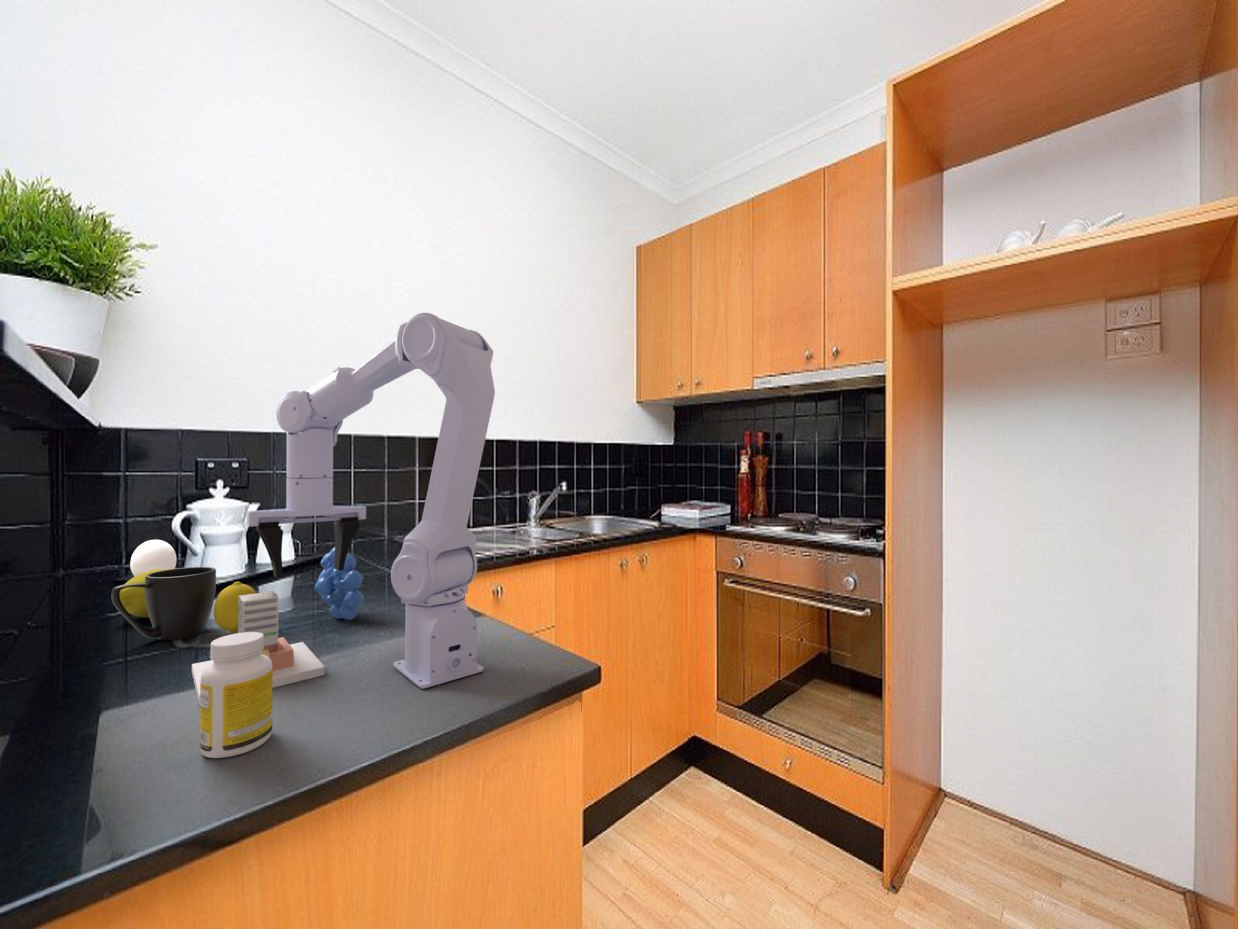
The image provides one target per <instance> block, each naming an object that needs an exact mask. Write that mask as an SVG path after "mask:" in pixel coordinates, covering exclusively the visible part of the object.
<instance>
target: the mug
mask: <svg viewBox="0 0 1238 929" xmlns="http://www.w3.org/2000/svg"><path fill="white" fill-rule="evenodd" d="M128 587H141V588H145V600H146V606H147V610H148V614H149V620H150V621H149V622H150V623H151V626H152V627H146V626H144V625H142V624H141V623H139V622H138V621H137V620H136V619H135V618H134V617H133V616H132V614H130V613H128V612H127V610H126V609H125V608H124V606H123V604H122V603H121V600H120V591H121V590H122V589H124V588H128ZM216 589H217V570H216V568H215V567H212V566H211V567H210V566H191V567H187V566H186V567H178V568H177V567H175V569H169V570H163V571H157V572H153V573H150V574H148V575H146V577H145V583H137V584H126V585H124V584H120V585H118V586H115V587H113V588H112V590H111V595H110V597H111V602H112V604H113V606H114V608H115V609H116V610H117V611H118V612H119V613H120V614H121V615H122V616H123V617H124V619H125V620H126V621H128V623H129V624H130V625H131V626H132V627H133V628H134V629H135V630H136V631H137V632H139V633H140V634H141V635H142V636H144V637H146V638H148V639H157V640H160V641H174V640H182V639H187V638H192V637H195V636H198V635H201V634H203V633H204V632H205V631H206V627H207V623H208V621H209V619H210V615H211V613H212V609H213V607H214V603H215V598H216Z"/></svg>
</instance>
